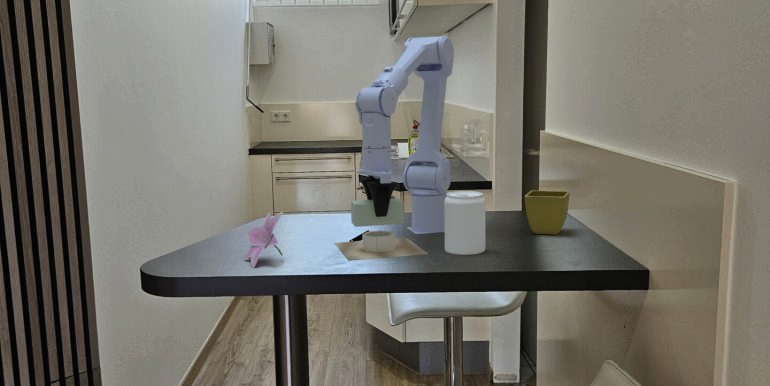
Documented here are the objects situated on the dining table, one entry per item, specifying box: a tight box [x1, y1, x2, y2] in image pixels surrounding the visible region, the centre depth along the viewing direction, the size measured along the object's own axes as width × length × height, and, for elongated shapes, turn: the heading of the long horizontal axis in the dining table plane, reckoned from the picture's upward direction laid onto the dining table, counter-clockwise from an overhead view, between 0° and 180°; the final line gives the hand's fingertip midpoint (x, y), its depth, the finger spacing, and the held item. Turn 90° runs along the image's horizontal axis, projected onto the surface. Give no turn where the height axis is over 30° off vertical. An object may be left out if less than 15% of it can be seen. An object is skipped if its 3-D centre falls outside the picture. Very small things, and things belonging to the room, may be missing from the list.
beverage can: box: [444, 190, 486, 256], centre depth 140 cm, size 8×8×12 cm
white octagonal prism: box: [361, 230, 397, 252], centre depth 144 cm, size 6×6×3 cm
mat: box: [333, 237, 429, 262], centre depth 144 cm, size 16×16×1 cm
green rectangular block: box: [350, 197, 405, 228], centre depth 143 cm, size 10×4×4 cm, turn 103°
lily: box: [243, 211, 284, 268], centre depth 138 cm, size 12×12×10 cm
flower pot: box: [524, 189, 571, 236], centre depth 158 cm, size 9×9×9 cm
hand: (378, 214), depth 143 cm, fingers closed on green rectangular block, 4 cm apart
